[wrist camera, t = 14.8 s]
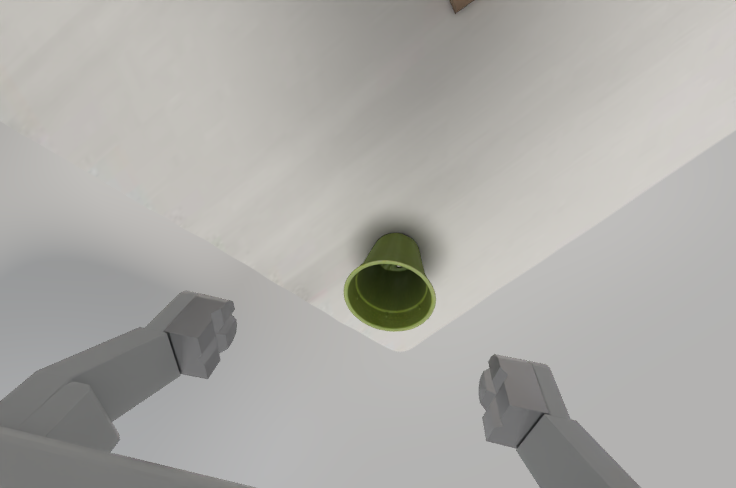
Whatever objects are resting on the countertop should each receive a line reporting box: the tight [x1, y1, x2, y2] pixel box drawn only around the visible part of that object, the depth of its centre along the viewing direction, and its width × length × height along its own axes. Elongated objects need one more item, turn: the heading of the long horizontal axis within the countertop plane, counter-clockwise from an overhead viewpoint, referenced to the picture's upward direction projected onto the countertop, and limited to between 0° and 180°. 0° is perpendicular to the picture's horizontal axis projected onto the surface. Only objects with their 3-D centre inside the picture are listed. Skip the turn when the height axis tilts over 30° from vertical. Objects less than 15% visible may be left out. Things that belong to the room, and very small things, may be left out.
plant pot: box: [344, 233, 436, 331], centre depth 45 cm, size 12×12×11 cm
